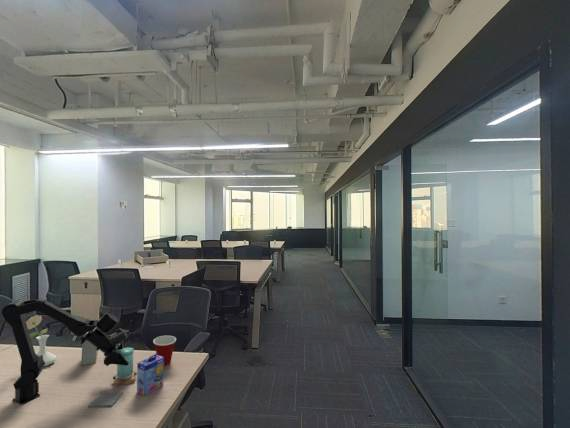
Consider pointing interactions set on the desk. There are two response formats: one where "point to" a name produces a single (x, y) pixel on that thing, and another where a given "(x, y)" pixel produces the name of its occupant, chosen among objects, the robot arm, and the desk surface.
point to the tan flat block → (124, 379)
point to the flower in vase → (41, 340)
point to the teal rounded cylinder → (128, 355)
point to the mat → (105, 399)
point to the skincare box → (88, 353)
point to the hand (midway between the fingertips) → (128, 361)
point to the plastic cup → (165, 347)
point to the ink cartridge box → (150, 374)
